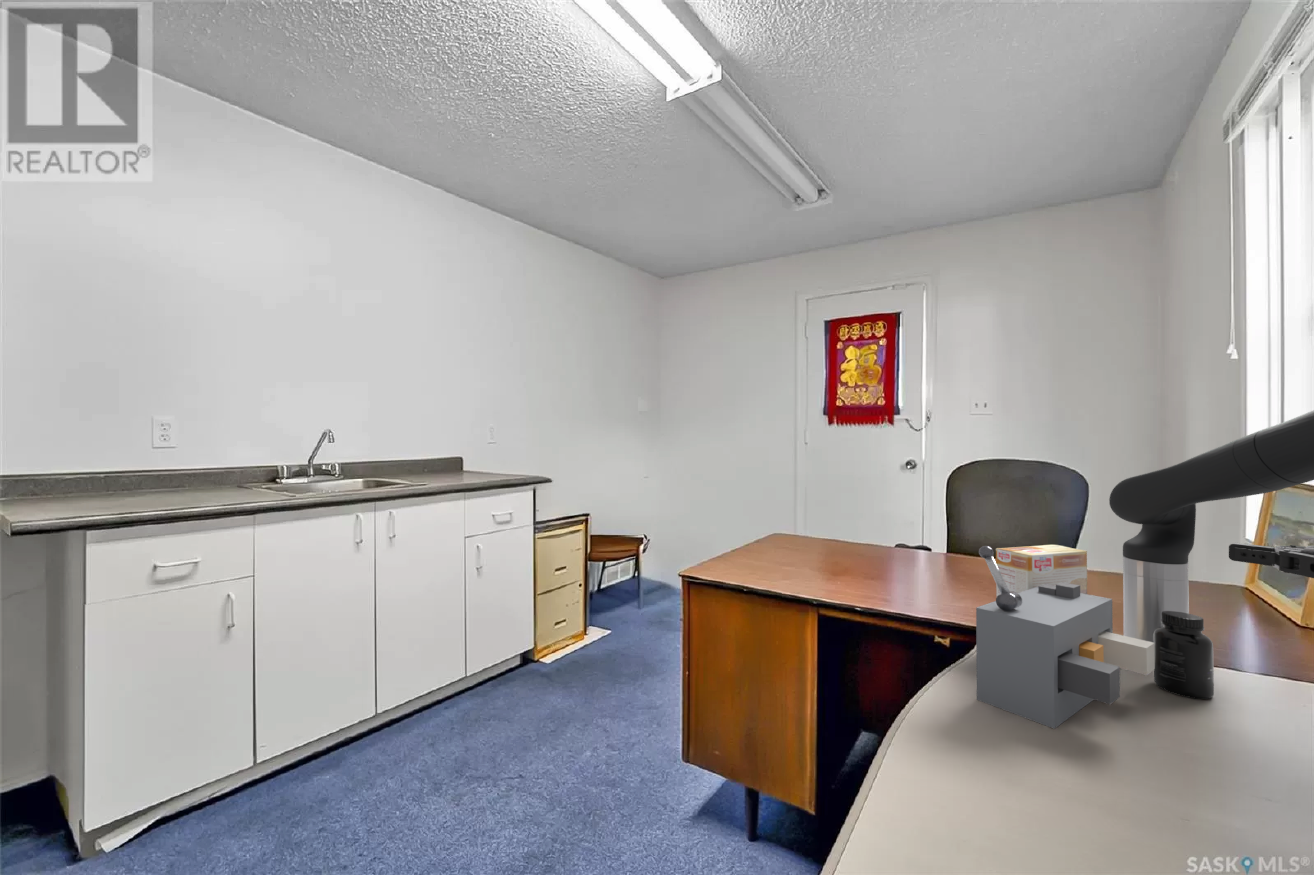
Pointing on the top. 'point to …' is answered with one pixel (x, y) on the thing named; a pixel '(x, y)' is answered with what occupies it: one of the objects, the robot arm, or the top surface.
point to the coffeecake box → (1041, 567)
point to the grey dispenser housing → (1036, 650)
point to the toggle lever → (1000, 582)
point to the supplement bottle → (1183, 656)
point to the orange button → (1091, 651)
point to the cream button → (1128, 652)
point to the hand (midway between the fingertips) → (1230, 551)
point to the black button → (1089, 677)
